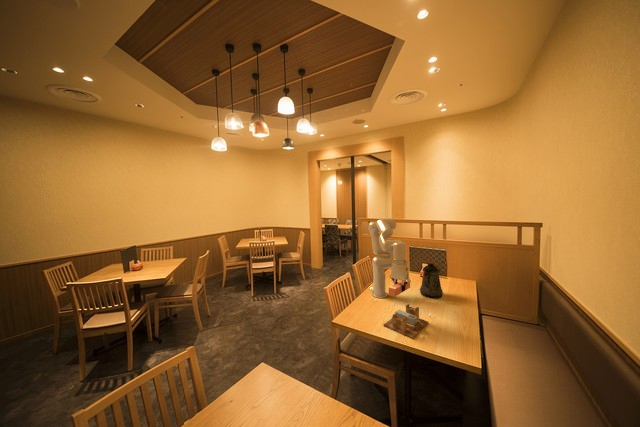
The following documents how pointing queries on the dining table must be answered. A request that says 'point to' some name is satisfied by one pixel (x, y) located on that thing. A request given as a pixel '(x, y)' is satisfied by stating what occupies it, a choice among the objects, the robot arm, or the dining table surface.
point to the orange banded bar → (397, 288)
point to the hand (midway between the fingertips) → (399, 289)
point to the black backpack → (431, 282)
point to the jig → (403, 326)
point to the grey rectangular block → (410, 318)
